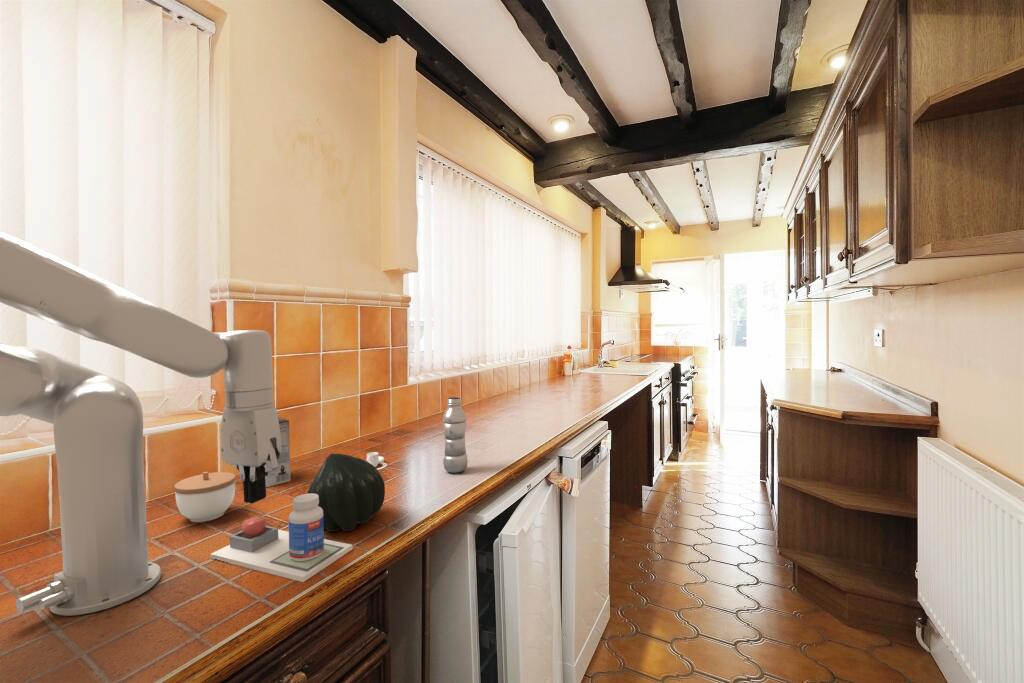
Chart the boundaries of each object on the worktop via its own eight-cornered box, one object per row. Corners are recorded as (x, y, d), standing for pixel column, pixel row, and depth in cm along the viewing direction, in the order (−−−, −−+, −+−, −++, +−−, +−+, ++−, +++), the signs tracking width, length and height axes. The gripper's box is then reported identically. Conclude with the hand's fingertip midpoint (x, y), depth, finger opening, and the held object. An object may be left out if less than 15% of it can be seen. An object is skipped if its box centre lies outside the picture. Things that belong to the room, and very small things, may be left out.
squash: (408, 494, 92) (373, 433, 97) (344, 524, 80) (307, 453, 84) (377, 526, 98) (345, 468, 103) (313, 559, 86) (281, 491, 91)
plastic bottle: (472, 470, 124) (471, 397, 123) (457, 477, 118) (455, 400, 117) (454, 466, 127) (453, 395, 126) (438, 473, 121) (436, 399, 121)
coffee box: (251, 480, 118) (249, 419, 117) (277, 474, 123) (275, 415, 122) (266, 488, 112) (263, 423, 112) (292, 481, 117) (290, 419, 116)
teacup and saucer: (377, 461, 135) (377, 447, 134) (395, 465, 130) (395, 451, 130) (352, 469, 127) (351, 454, 127) (369, 474, 123) (369, 459, 123)
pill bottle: (311, 563, 74) (309, 504, 73) (282, 560, 75) (280, 502, 75) (330, 547, 79) (329, 492, 79) (303, 545, 80) (301, 490, 80)
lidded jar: (182, 532, 88) (180, 485, 88) (170, 517, 95) (168, 473, 95) (243, 515, 96) (242, 471, 96) (228, 502, 103) (226, 461, 103)
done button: (252, 538, 79) (252, 526, 79) (237, 534, 81) (237, 523, 80) (270, 529, 83) (269, 518, 82) (255, 526, 84) (255, 515, 84)
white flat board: (303, 582, 70) (302, 564, 70) (210, 558, 78) (209, 542, 78) (352, 549, 80) (352, 533, 80) (266, 531, 88) (265, 517, 88)
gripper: (200, 401, 80) (206, 503, 81) (262, 404, 75) (267, 514, 75) (239, 394, 87) (244, 488, 88) (298, 397, 81) (303, 497, 82)
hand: (255, 500), depth 82 cm, fingers closed
